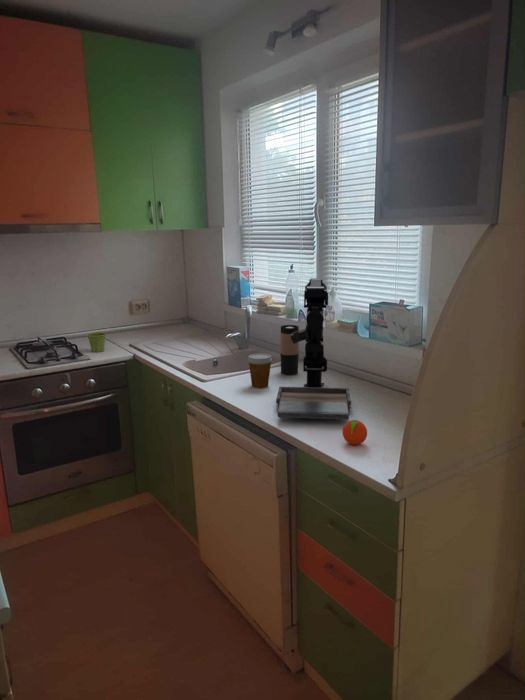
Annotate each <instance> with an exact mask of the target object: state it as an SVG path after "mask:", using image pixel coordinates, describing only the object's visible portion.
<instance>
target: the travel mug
mask: <svg viewBox="0 0 525 700" xmlns="http://www.w3.org/2000/svg"><path fill="white" fill-rule="evenodd" d="M299 328H300V327H299V325H295V324H283V325H281V326H280V350H279V351H280V373H281V374H282V375H284V374H285V376H294V374H295V375H297V374H298V372H299V357H300V356H299V353H300V352H299V350H300V349H299V345H300V342H297V343H295V344H293V342H292V340H291V336H290V335H291V333H294V332H297V331H299Z"/></svg>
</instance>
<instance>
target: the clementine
mask: <svg viewBox="0 0 525 700" xmlns="http://www.w3.org/2000/svg"><path fill="white" fill-rule="evenodd" d="M341 434H342V437H343V439H344V441H346V442H347V443H348V445H351V446H352V445H353V446H359V445H360V444H362V443H364V442H365V440H366V439H367V436H368V429H367V427H366V425H365V424H364V423H363V422H362V421H360V420H358V419H352V420H348V421H347V422H346V423H345V424H344V426H343V428H342V433H341Z"/></svg>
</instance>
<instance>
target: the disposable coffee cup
mask: <svg viewBox="0 0 525 700" xmlns="http://www.w3.org/2000/svg"><path fill="white" fill-rule="evenodd" d="M272 361H273V358H272V355H271V354H269V353H252V354H249V355H248V358H247V362H248V366H249V367H248V369H249V374H250V382H251V387H252V388H255V389H264V388H265V389H266V388H268V387H269V383H270V382H269V381H270V373H271V366H272V365H271V364H272Z"/></svg>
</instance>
